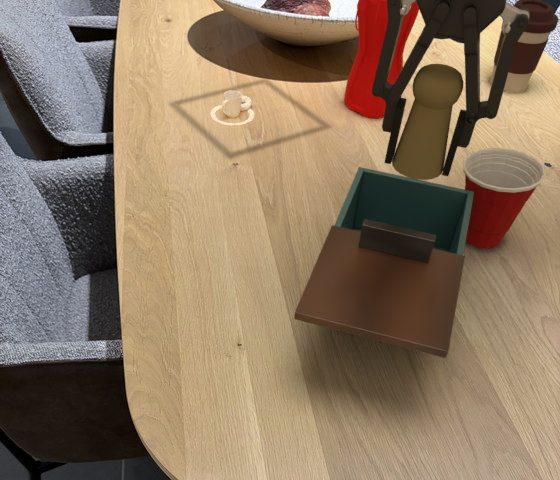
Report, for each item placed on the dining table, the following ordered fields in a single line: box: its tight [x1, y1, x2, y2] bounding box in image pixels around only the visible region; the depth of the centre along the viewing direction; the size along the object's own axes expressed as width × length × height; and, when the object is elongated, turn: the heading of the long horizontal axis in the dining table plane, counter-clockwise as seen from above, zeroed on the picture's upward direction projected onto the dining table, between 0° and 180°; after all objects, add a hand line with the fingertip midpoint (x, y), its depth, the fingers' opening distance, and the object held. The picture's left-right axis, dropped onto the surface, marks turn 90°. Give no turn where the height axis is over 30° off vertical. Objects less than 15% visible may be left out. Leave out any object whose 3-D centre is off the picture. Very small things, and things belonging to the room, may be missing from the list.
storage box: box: [333, 166, 474, 255], centre depth 79 cm, size 16×16×10 cm
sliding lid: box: [293, 219, 466, 359], centre depth 64 cm, size 16×16×4 cm
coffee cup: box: [489, 0, 559, 94], centre depth 117 cm, size 10×10×15 cm
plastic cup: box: [462, 147, 547, 250], centre depth 85 cm, size 11×11×12 cm
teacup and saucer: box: [209, 90, 256, 127], centre depth 107 cm, size 9×8×4 cm
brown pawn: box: [391, 63, 464, 181], centre depth 66 cm, size 6×6×11 cm
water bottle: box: [344, 0, 420, 119], centre depth 104 cm, size 9×11×25 cm
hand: (418, 163), depth 70 cm, fingers closed on brown pawn, 6 cm apart
